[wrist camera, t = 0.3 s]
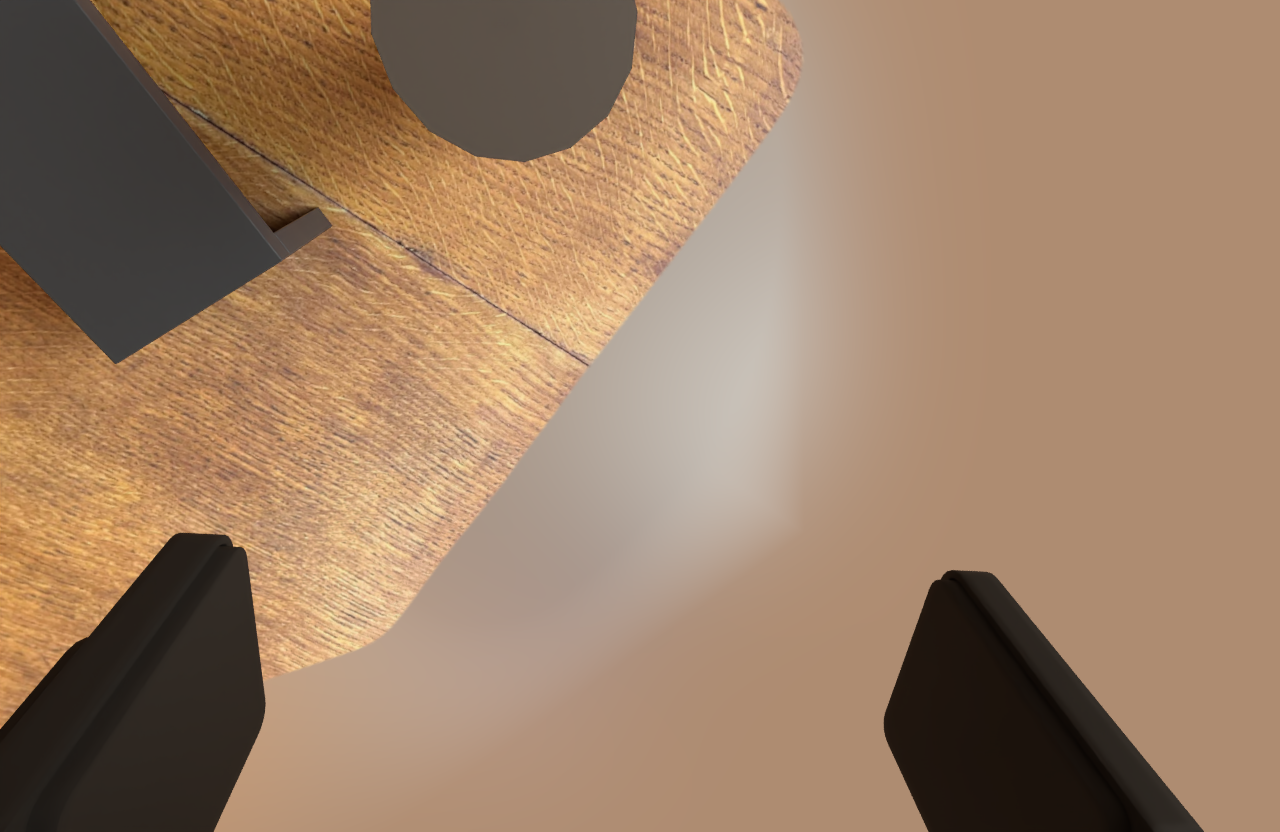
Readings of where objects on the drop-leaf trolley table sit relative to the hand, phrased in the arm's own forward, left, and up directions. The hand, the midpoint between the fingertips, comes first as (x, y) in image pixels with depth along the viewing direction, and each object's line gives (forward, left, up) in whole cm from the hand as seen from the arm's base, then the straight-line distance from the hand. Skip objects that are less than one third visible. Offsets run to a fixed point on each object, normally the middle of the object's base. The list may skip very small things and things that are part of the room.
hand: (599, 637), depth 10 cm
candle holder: (-8, +2, -35) cm, 36 cm away
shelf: (-16, -18, -35) cm, 42 cm away
